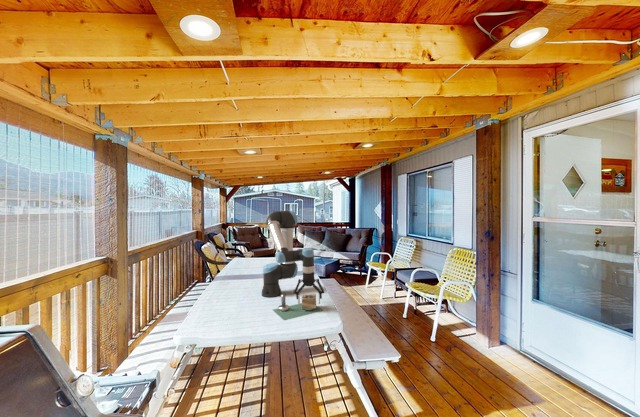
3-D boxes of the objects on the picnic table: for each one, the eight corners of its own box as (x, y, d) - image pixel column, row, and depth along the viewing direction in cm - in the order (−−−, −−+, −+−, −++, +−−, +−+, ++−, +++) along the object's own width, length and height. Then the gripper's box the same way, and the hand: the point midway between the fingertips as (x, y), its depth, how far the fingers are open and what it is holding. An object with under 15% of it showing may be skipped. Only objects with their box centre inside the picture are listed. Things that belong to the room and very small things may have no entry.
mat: (272, 310, 191) (272, 309, 191) (309, 301, 205) (309, 301, 205) (284, 321, 174) (284, 320, 174) (323, 311, 188) (323, 310, 188)
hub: (301, 308, 193) (301, 296, 193) (311, 305, 197) (311, 294, 197) (306, 311, 186) (306, 299, 186) (317, 309, 190) (317, 297, 190)
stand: (276, 309, 192) (276, 294, 192) (286, 306, 196) (286, 292, 195) (280, 312, 186) (280, 297, 186) (290, 310, 190) (290, 295, 189)
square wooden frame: (302, 303, 196) (302, 294, 196) (316, 303, 196) (315, 294, 196) (302, 308, 187) (301, 299, 187) (315, 308, 187) (315, 299, 187)
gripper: (289, 273, 187) (289, 306, 188) (327, 273, 187) (328, 305, 188) (290, 271, 194) (291, 302, 195) (327, 270, 195) (327, 301, 195)
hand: (309, 303), depth 191 cm, fingers open, 13 cm apart
